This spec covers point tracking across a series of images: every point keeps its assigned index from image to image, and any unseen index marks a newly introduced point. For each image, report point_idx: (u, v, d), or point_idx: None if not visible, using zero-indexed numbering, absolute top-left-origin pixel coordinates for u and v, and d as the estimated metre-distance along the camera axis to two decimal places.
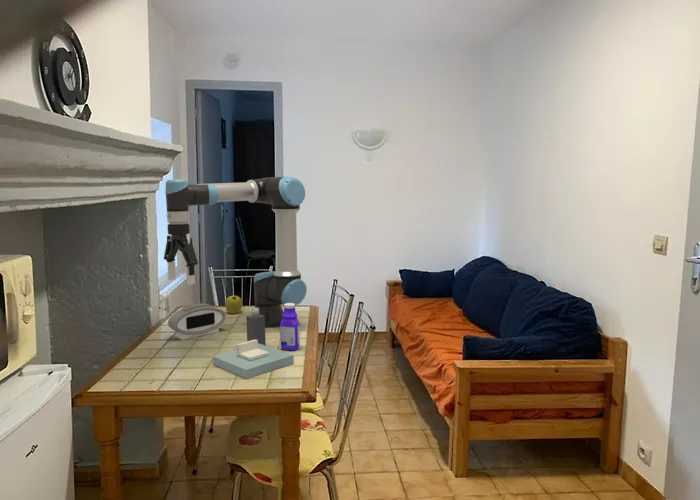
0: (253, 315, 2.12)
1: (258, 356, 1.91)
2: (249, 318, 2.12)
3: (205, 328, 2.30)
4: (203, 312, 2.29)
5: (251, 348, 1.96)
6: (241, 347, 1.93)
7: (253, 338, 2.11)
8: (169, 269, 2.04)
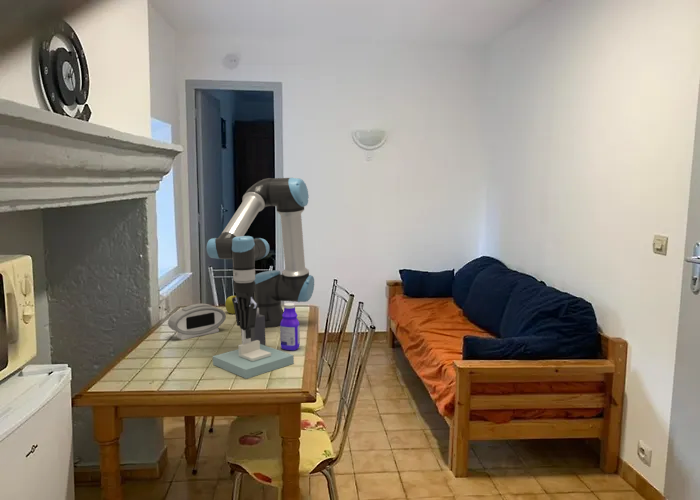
0: None
1: (260, 357, 1.90)
2: None
3: (205, 328, 2.30)
4: (203, 312, 2.29)
5: (253, 349, 1.95)
6: (243, 348, 1.92)
7: (253, 338, 2.11)
8: None
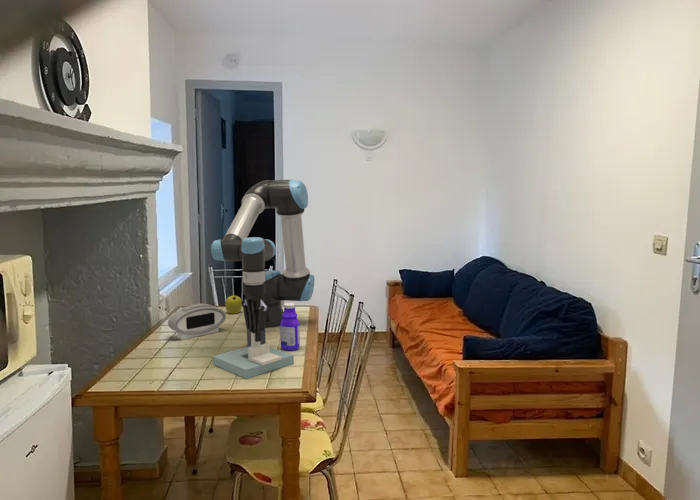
0: None
1: (270, 361, 1.86)
2: None
3: (205, 328, 2.30)
4: (203, 312, 2.29)
5: (263, 352, 1.92)
6: (253, 351, 1.88)
7: None
8: None
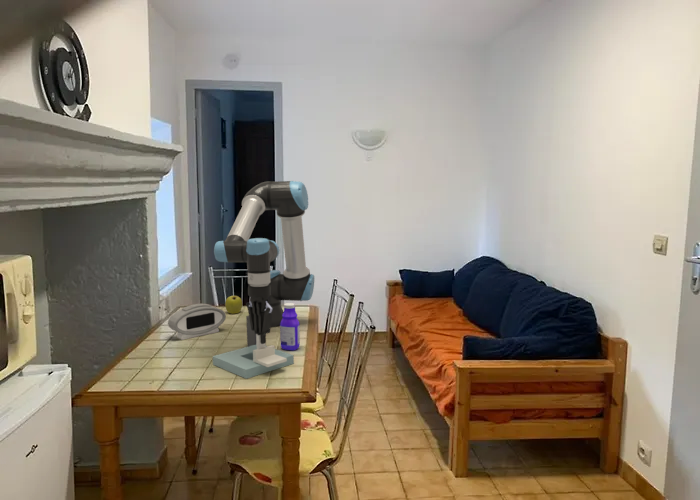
0: None
1: (275, 362, 1.84)
2: None
3: (205, 328, 2.30)
4: (203, 312, 2.29)
5: (268, 354, 1.90)
6: (258, 353, 1.86)
7: (253, 338, 2.11)
8: None
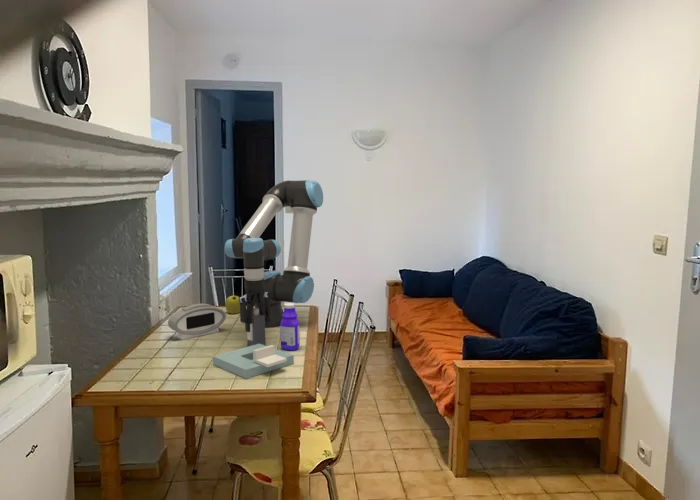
0: (253, 315, 2.12)
1: (276, 362, 1.84)
2: None
3: (205, 328, 2.30)
4: (203, 312, 2.29)
5: (268, 354, 1.90)
6: (258, 353, 1.86)
7: (253, 338, 2.11)
8: None
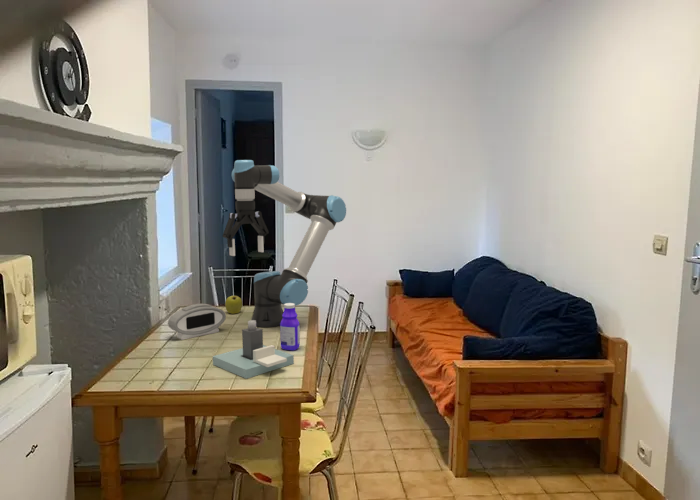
0: (249, 329, 1.91)
1: (276, 362, 1.84)
2: (245, 332, 1.91)
3: (205, 328, 2.30)
4: (203, 312, 2.29)
5: (268, 354, 1.90)
6: (258, 353, 1.86)
7: (250, 354, 1.91)
8: (258, 242, 2.25)
